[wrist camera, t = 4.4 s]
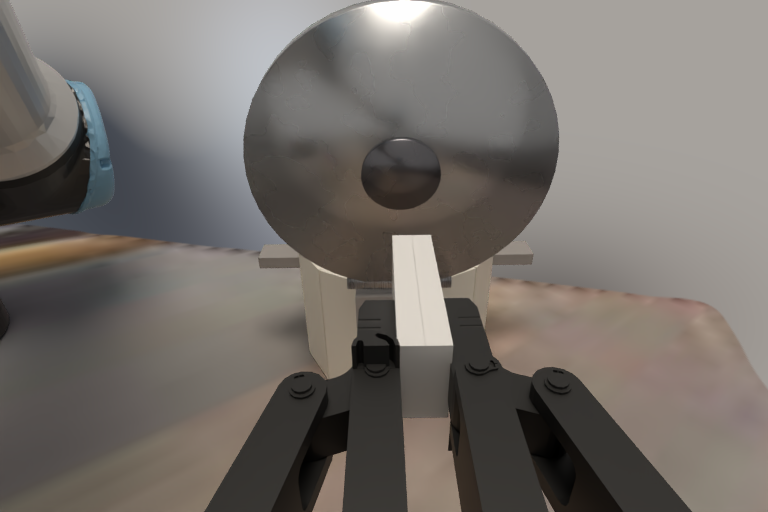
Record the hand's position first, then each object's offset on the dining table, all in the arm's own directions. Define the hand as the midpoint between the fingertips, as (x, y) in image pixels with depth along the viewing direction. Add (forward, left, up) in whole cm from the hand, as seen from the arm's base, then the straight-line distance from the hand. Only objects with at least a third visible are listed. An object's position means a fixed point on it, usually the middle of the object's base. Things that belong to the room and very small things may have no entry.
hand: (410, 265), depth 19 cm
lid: (-9, +5, +1) cm, 10 cm away
